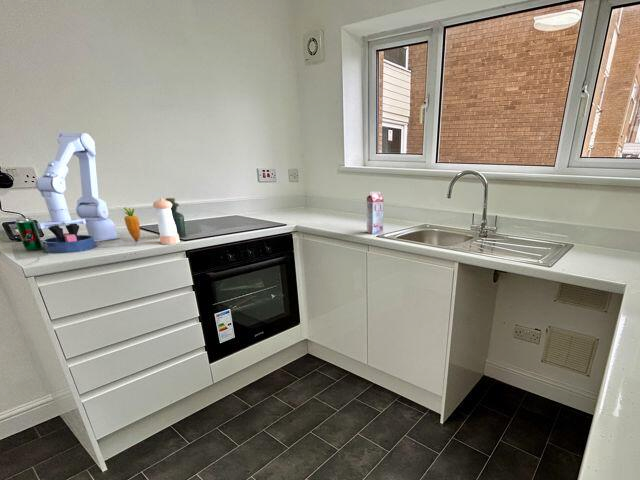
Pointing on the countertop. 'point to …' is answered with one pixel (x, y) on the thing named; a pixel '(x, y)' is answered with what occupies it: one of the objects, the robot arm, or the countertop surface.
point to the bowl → (69, 244)
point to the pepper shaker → (166, 222)
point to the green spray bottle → (177, 218)
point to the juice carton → (375, 213)
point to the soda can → (29, 234)
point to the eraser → (69, 237)
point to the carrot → (132, 224)
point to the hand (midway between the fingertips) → (69, 243)
